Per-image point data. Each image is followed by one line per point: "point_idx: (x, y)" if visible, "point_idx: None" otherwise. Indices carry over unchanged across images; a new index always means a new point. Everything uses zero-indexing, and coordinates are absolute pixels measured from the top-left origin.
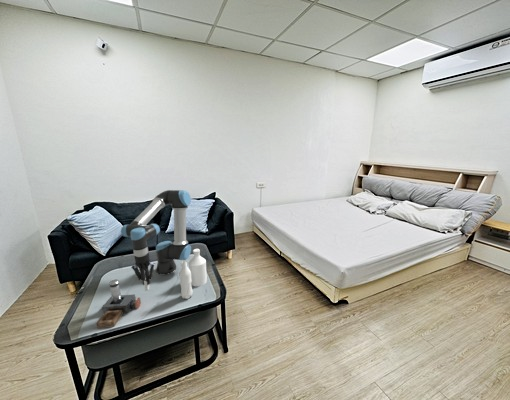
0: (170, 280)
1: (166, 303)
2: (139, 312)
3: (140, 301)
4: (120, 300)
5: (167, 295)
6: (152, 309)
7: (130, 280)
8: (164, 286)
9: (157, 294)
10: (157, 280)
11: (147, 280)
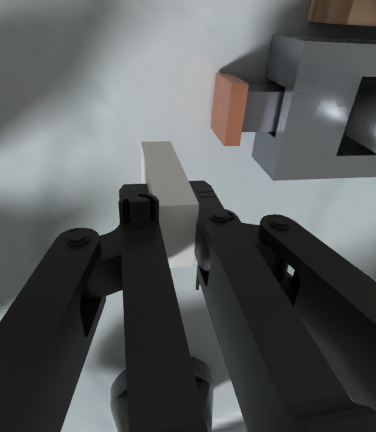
0: (101, 322)
1: (5, 108)
2: (189, 21)
3: (215, 131)
4: (363, 112)
5: (49, 198)
6: (93, 44)
7: None
8: None
9: None
10: None
11: (126, 204)
